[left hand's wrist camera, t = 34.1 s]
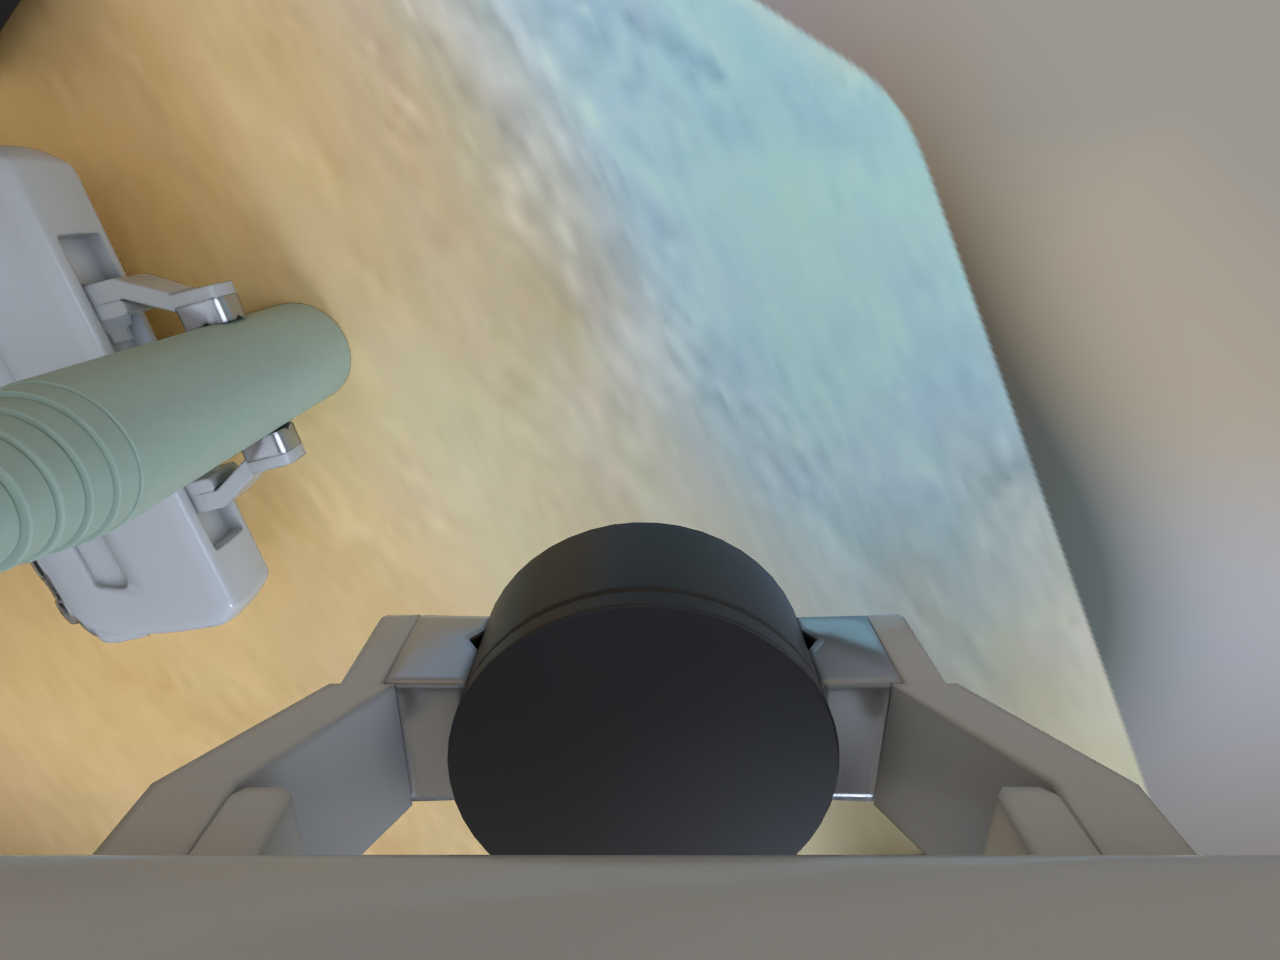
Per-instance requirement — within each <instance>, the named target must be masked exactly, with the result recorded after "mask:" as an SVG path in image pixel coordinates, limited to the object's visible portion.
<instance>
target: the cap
mask: <svg viewBox="0 0 1280 960" xmlns="http://www.w3.org/2000/svg"><path fill="white" fill-rule="evenodd" d="M447 763H448V773H449V781H450V785H451V788H452V792H453V796H454V799H455V802H456V804H457V807H458V809H459V811H460V813H461V815H462V818H463V820H464V821H465V823H466V824H467V826H468V828H469V829H470V831H471V832H472V834H473V835H474V837H475V838H476V839H477V840H478V841H479V843H480V844H481V845H482V846H483V847H484V848H485V850H486V851H487V852H488V853H489V854H490V855H796V854H797V853H798V852H799V851H800V850H801V849H802V848H803V847H804V846H805V844H806V843H807V842H808V841H809V840H810V839H811V837H812V836H813V834H814V833H815V831H816V830H817V828H818V827H819V826H820V824H821V822H822V820H823V818H824V816H825V814H826V812H827V810H828V808H829V806H830V804H831V801H832V798H833V795H834V791H835V788H836V785H837V778H838V772H839V765H840V762H839V741H838V735H837V730H836V725H835V722H834V719H833V716H832V713H831V711H830V708H829V705H828V703H827V700H826V697H825V694H824V692H823V689H822V686H821V684H820V681H819V678H818V675H817V673H816V670H815V667H814V665H813V662H812V659H811V656H810V654H809V651H808V648H807V646H806V643H805V640H804V637H803V635H802V632H801V629H800V627H799V624H798V621H797V618H796V616H795V613H794V610H793V608H792V606H791V604H790V603H789V601H788V599H787V597H786V595H785V594H784V592H783V591H782V589H781V588H780V587H779V585H778V584H777V583H776V581H775V580H774V579H773V577H772V576H771V575H770V574H769V573H768V572H767V571H766V570H765V569H764V568H763V567H761V566H760V565H759V564H758V563H757V562H756V561H755V560H753V559H752V558H751V557H749V556H748V555H747V554H745V553H744V552H742V551H741V550H739V549H738V548H736V547H734V546H732V545H730V544H729V543H727V542H725V541H723V540H721V539H719V538H716V537H714V536H711V535H709V534H706V533H704V532H701V531H698V530H693V529H690V528H686V527H682V526H677V525H670V524H662V523H637V522H634V523H625V524H614V525H609V526H605V527H600V528H596V529H592V530H589V531H586V532H583V533H580V534H578V535H575V536H572V537H569V538H567V539H565V540H563V541H561V542H559V543H557V544H555V545H554V546H552V547H550V548H548V549H547V550H545V551H544V552H542V553H541V554H539V555H538V556H537V557H535V558H534V559H532V560H531V561H530V562H529V563H528V564H527V565H526V566H525V567H523V568H522V569H521V570H520V571H519V572H518V573H517V574H516V575H515V576H514V578H513V579H512V580H511V581H510V582H509V584H508V585H507V586H506V587H505V589H504V590H503V592H502V594H501V595H500V597H499V598H498V600H497V602H496V603H495V605H494V608H493V610H492V613H491V615H490V617H489V620H488V623H487V626H486V629H485V632H484V634H483V637H482V639H481V642H480V645H479V648H478V652H477V655H476V657H475V660H474V663H473V666H472V669H471V671H470V674H469V677H468V680H467V683H466V685H465V688H464V690H463V693H462V696H461V699H460V702H459V704H458V707H457V710H456V713H455V716H454V718H453V722H452V726H451V731H450V735H449V739H448V754H447Z"/></svg>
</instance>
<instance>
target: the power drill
mask: <svg viewBox="0 0 1280 960" xmlns="http://www.w3.org/2000/svg"><path fill="white" fill-rule="evenodd" d="M19 1H20V0H0V31H1V29H2V28H3V26H4V25H5V23H6V22H7V20H8V19H9V17H10V15H11V14H12V12H13V11H14V9H15V8H16V6H17V4H18V3H19Z"/></svg>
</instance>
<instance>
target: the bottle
mask: <svg viewBox="0 0 1280 960" xmlns="http://www.w3.org/2000/svg"><path fill="white" fill-rule="evenodd" d="M349 369H350V351H349V346H348V343H347V341H346V338H345V336H344V334H343V333H342V331H341V330H340V328H339V327H338V325H337V324H336V323H335V322H334V321H333V320H332V319H331V318H330V317H329V316H327V315H326V314H325V313H323V312H321V311H320V310H318V309H316V308H314V307H311V306H308V305H305V304H299V303H286V304H281V305H277V306H274V307H270V308H267V309H263V310H260V311H257V312H253V313H250V314H246V316H245V317H242V318H238V319H235V320H231V321H228V322H224V323H220V324H217V325H209V326H205V327H202V328H198V329H195V330H191V331H188V332H185V333H181V334H178V335H174V336H171V337H167V338H164V339H160V340H157V341H154V342H150V343H147V344H143V345H140V346H136V347H133V348H130V349H126V350H123V351H119V352H116V353H112V354H109V355H106V356H102V357H99V358H95V359H92V360H88V361H85V362H82V363H78V364H75V365H71V366H68V367H64V368H61V369H58V370H54V371H51V372H47V373H44V374H40V375H37V376H33V377H30V378H27V379H23V380H20V381H16V382H13V383H10V384H7V385H5V386H2V387H0V573H1V572H4V571H6V570H9V569H10V568H12V567H14V566H16V565H18V564H24V563H29V562H32V561H35V560H38V559H40V558H42V557H43V556H46V555H51V554H56V553H59V552H62V551H65V550H67V549H68V548H70V547H74V546H78V545H82V544H85V543H88V542H91V541H92V540H94V539H96V538H98V537H100V536H101V535H103V534H106V533H109V532H112V531H114V530H116V529H117V528H119V527H121V526H123V525H124V524H126V523H127V522H129V521H131V520H132V519H134V518H135V517H137V516H139V515H140V514H142V513H143V512H145V511H147V510H148V509H150V508H151V507H153V506H155V505H156V504H158V503H159V502H161V501H163V500H164V499H166V498H167V497H169V496H171V495H172V494H174V493H175V492H177V491H179V490H180V489H182V488H183V487H185V486H187V485H188V484H190V483H191V482H193V481H195V480H196V479H198V478H199V477H201V476H202V475H204V474H206V473H207V472H209V471H210V470H212V469H214V468H215V467H217V466H218V465H220V464H222V463H223V462H225V461H226V460H228V459H230V458H231V457H233V456H234V455H236V454H238V453H239V452H241V451H242V450H244V449H246V448H247V447H249V446H250V445H252V444H254V443H255V442H257V441H258V440H260V439H262V438H263V437H265V436H266V435H268V434H270V433H271V432H273V431H274V430H276V429H278V428H279V427H281V426H282V425H284V424H286V423H287V422H289V421H290V420H292V419H294V418H295V417H297V416H298V415H300V414H302V413H303V412H305V411H306V410H308V409H310V408H311V407H313V406H314V405H316V404H318V403H319V402H321V401H322V400H324V399H326V398H327V397H329V396H330V395H332V394H333V393H335V392H336V391H337V390H338V389H339V388H340V387H341V386H342V385H343V383H344V382H345V380H346V378H347V376H348V373H349Z"/></svg>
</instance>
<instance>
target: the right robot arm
mask: <svg viewBox="0 0 1280 960" xmlns="http://www.w3.org/2000/svg"><path fill="white" fill-rule="evenodd" d="M234 293H235V294H234ZM156 308H160V309H164V310H168V311H172V312H177V314H178V316H179V318H180V320H181V322H182V324H183V326H184V328H185V330H186V332H188V331H191V330H195V329H198V328H202V327H205V326H209V325H217V324H220V323H224V322H228V321H231V320H235V319H238V318H242V317H245V316H246V314H245V311H244V309H243V306H242V304H241V301H240V299H239V297H238V294H237V293H236V290H235V287H234V285H233V283H232V281H227V282H222V283H217V284H212V285H208V286H203V287H199V288H196V289H194V287H191V286H188V285H185V284H181V283H178V282H175V281H171V280H168V279H165V278H161V277H158V276H155V275H151V274H148V273H145V274H139V275H132V276H126V274H125V272H124V270H123V267H122V265H121V263H120V261H119V259H118V257H117V255H116V253H115V251H114V249H113V247H112V245H111V243H110V241H109V238H108V236H107V234H106V232H105V230H104V228H103V226H102V224H101V222H100V220H99V218H98V216H97V214H96V212H95V209H94V207H93V205H92V203H91V201H90V199H89V197H88V195H87V193H86V191H85V189H84V186H83V184H82V182H81V180H80V178H79V176H78V174H77V172H76V171H75V169H74V168H73V167H72V166H71V165H70V164H69V163H67V162H65V161H64V160H62V159H59V158H57V157H55V156H53V155H51V154H48V153H46V152H43V151H41V150H38V149H34V148H28V147H20V146H9V145H0V387H2V386H5V385H7V384H10V383H13V382H16V381H20V380H23V379H27V378H30V377H33V376H37V375H40V374H44V373H47V372H51V371H54V370H58V369H61V368H64V367H68V366H71V365H75V364H78V363H82V362H85V361H88V360H92V359H95V358H99V357H102V356H106V355H109V354H112V353H116V352H119V351H123V350H126V349H130V348H133V347H136V346H140V345H143V344H147V343H150V342H154V341H157V338H156V336H155V334H154V332H153V330H152V327H151V325H150V323H149V321H148V319H147V317H146V315H145V313H144V312H145V311H149V310H152V309H156ZM242 453H243V455H244V457H245V460H244V461H243V462H242V463H241V464H240V466H239V467H238V465H237V464H236V463H235V462H230V463H226V464H222V465H218V466H217V467H215V468H214V469H212V470H210V471H209V472H207V473H206V474H204V475H202V476H201V477H199V478H198V479H196V480H195V481H193V482H191V483H190V484H188V485H187V486H185V487H183V488H182V489H180V490H179V491H177V492H175V493H174V494H172V495H171V496H169V497H167V498H166V499H164V500H163V501H161V502H159V503H158V504H156V505H155V506H153V507H151V508H150V509H148V510H147V511H145V512H143V513H142V514H140V515H139V516H137V517H135V518H134V519H132V520H131V521H129V522H127V523H126V524H124V525H123V526H121V527H119V528H117V529H116V530H114V531H112V532H109V533H106V534H103V535H101V536H100V537H98V538H96V539H94V540H92V541H91V542H88V543H85V544H82V545H78V546H74V547H70V548H68V549H67V550H65V551H62V552H59V553H56V554H51V555H46V556H43V557H42V558H40V559H38V560H35V561H32V562H30V564H31V565H32V567H33V569H34V570H35V572H36V573H37V574H38V576H39V577H41V579H42V581H43V582H45V584H46V585H47V587H49V589H50V591H51V592H52V594H53V596H54V598H55V599H56V600H55V603H56V606H57V608H58V609H59V611H60V612H61V614H62V615H63V616H64V618H65V619H66V620H67V621H68V622H69V623H71V624H78V623H80V624H81V625H82V626H83V628H84V629H86V630H87V631H88V632H90V633H91V634H93V635H95V636H97V637H99V639H100V640H101V641H103V642H108V643H118V642H123V641H128V640H132V639H137V638H141V637H144V636H148V635H150V634H160V633H171V632H181V631H189V630H196V629H203V628H209V627H214V626H218V625H222V624H224V623H226V622H228V621H230V620H231V619H233V618H234V617H236V616H237V615H238V614H239V613H240V612H241V611H242V610H244V609H245V608H246V607H247V606H248V605H249V604H250V602H251V601H252V600H253V599H254V598H255V597H256V595H257V594H258V592H259V591H260V589H261V588H262V586H263V585H264V583H265V581H266V579H267V577H268V568H267V566H266V563H265V561H264V559H263V557H262V555H261V553H260V551H259V549H258V547H257V545H256V543H255V541H254V538H253V536H252V534H251V532H250V530H249V528H248V526H247V524H246V522H245V520H244V518H243V516H242V514H241V512H240V510H239V507H238V505H237V503H236V501H235V499H236V498H237V497H239V496H240V495H242V494H243V493H244V492H246V491H247V490H248V489H250V488H251V486H252V485H253V484H254V483H255V482H256V481H257V480H258V479H259V478H260V476H261V475H262V474H263V473H264V472H265V471H266V470H270V469H274V468H278V467H282V466H286V465H288V464H291V463H293V462H295V461H296V460H298V459H299V458H300V457H302V456H303V455H304V454H306V452H305V449H304V447H303V445H302V442H301V440H300V438H299V436H298V433H297V431H296V429H295V426H294V424H293V422H287V423H286V424H284V425H282V426H281V427H279V428H278V429H276V430H274V431H273V432H271V433H270V434H268V435H266V436H265V437H263V438H262V439H260V440H258V441H257V442H255V443H254V444H252V445H250V446H249V447H247V448H246V449H244V450H242Z"/></svg>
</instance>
